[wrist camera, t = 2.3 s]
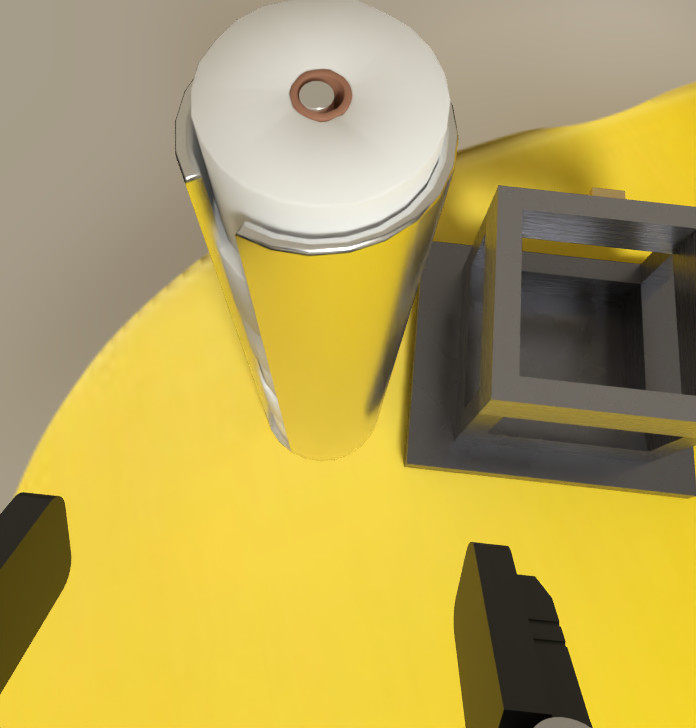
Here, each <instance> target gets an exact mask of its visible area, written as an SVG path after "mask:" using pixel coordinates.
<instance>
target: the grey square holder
mask: <svg viewBox="0 0 696 728" xmlns="http://www.w3.org/2000/svg"><path fill="white" fill-rule="evenodd" d="M522 237H523V238H532V239H541V240H550V241H559V242H568V243H577V244H586V245H595V246H604V247H613V248H623V249H632V250H641V251H650V252H652V253H651V254H650V255H649V256H648V257H647V258H646V260H645V261H644V262H643V263H642V264H634V263H625V262H616V261H607V260H598V259H589V258H580V257H570V256H561V255H552V254H543V253H534V252H525V251H522ZM695 445H696V207H691V206H682V205H673V204H664V203H654V202H645V201H636V200H627V199H625V191H621V190H611V189H602V188H593V187H592V189H591V190H590V192H589V193H588V195H582V194H573V193H563V192H554V191H545V190H536V189H527V188H518V187H509V186H500V185H498V188H497V190H496V192H495V195H494V197H493V199H492V202H491V204H490V206H489V209H488V211H487V213H486V216H485V218H484V220H483V223H482V225H481V227H480V230H479V232H478V234H477V237H476V239H475V241H474V243H473V246H471V245H462V244H452V243H443V242H434V241H432V243H431V246H430V250H429V253H428V256H427V259H426V263H425V266H424V269H423V272H422V276H421V279H420V282H419V285H418V298H417V311H416V324H415V337H414V350H413V363H412V376H411V388H410V401H409V414H408V427H407V440H406V453H405V466H404V467H410V468H419V469H428V470H437V471H446V472H455V473H464V474H473V475H482V476H491V477H500V478H509V479H518V480H527V481H536V482H545V483H554V484H563V485H572V486H580V487H589V488H598V489H607V490H616V491H625V492H634V493H643V494H652V495H661V496H670V497H679V498H691V497H695V496H696V478H695V464H694V450H693V446H695Z"/></svg>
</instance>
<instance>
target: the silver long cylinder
mask: <svg viewBox="0 0 696 728" xmlns="http://www.w3.org/2000/svg"><path fill="white" fill-rule="evenodd" d="M457 146H458V132H457V126H456V121H455V115H454V110H453V105H452V104H451V101H450V97H449V91H448V86H447V81H446V76H445V73H444V71H443V70H442V68H441V66H440V64H439V62H438V60H437V58H436V56H435V54H434V52H433V50H432V49H431V48H430V47H429V46H428V45H427V44H426V43H425V42H424V41H423V40H422V39H421V38H420V36H419V35H418V34H417V33H416V32H415V31H414V30H413V29H412V28H410V27H408V26H407V25H405V24H403V23H402V22H400V21H398V20H397V19H395V18H393V17H392V16H390V15H388V14H387V13H384V12H382V11H380V10H378V9H376V8H373V7H371V6H369V5H366V4H364V3H362V2H360V1H357V0H290V1H286V2H280V3H276V4H270V5H265V6H263V7H261V8H259V9H257V10H255V11H253V12H251V13H250V14H247V15H245V16H243V17H241V18H239V19H237V20H236V21H235V22H234V23H233V24H232V25H231V26H230V27H229V28H228V29H227V30H226V31H225V32H224V33H223V34H221V36H219V37H218V38H217V39H216V40H215V41H214V43H213V44H212V45H211V47H210V48H209V50H208V51H207V52H206V54H205V55H204V56H203V58H202V59H201V60H200V62H199V64H198V67H197V70H196V74H195V77H194V79H193V80H192V82H191V83H190V84H189V86H188V88H187V89H186V90H185V92H184V96H183V98H182V101H181V104H180V108H179V111H178V114H177V117H176V120H175V154H176V158H177V161H178V163H179V167H180V170H181V173H182V175H183V179H184V182H185V184H186V187H187V190H188V193H189V196H190V199H191V202H192V204H193V207H194V210H195V213H196V216H197V219H198V222H199V224H200V227H201V230H202V233H203V236H204V239H205V241H206V244H207V247H208V250H209V253H210V256H211V259H212V262H213V264H214V267H215V270H216V273H217V276H218V279H219V282H220V284H221V287H222V290H223V293H224V296H225V299H226V302H227V304H228V307H229V310H230V313H231V316H232V319H233V322H234V324H235V327H236V330H237V333H238V336H239V339H240V342H241V344H242V347H243V350H244V353H245V356H246V359H247V362H248V364H249V367H250V370H251V373H252V376H253V379H254V382H255V384H256V387H257V390H258V393H259V396H260V399H261V402H262V404H263V407H264V410H265V413H266V416H267V419H268V422H269V424H270V427H271V430H272V432H273V433H274V435H275V436H276V438H277V439H278V441H279V442H280V443H281V444H282V445H283V446H285V447H286V448H287V449H288V450H289V451H290V452H292V453H294V454H296V455H298V456H301V457H303V458H305V459H311V460H316V461H326V460H336V459H338V458H341V457H344V456H347V455H349V454H351V453H352V452H353V451H355V450H356V449H358V448H359V447H361V446H362V444H363V443H364V442H365V441H366V440H367V438H368V437H369V436H370V435H371V433H372V431H373V428H374V426H375V424H376V422H377V418H378V415H379V412H380V409H381V405H382V402H383V399H384V396H385V393H386V389H387V386H388V383H389V380H390V376H391V373H392V370H393V367H394V363H395V360H396V357H397V354H398V350H399V347H400V344H401V341H402V337H403V334H404V331H405V328H406V324H407V321H408V318H409V315H410V311H411V308H412V305H413V302H414V298H415V295H416V292H417V289H418V285H419V282H420V279H421V276H422V272H423V269H424V266H425V263H426V259H427V256H428V253H429V250H430V246H431V243H432V240H433V237H434V233H435V230H436V227H437V224H438V220H439V217H440V214H441V211H442V207H443V204H444V201H445V198H446V194H447V191H448V188H449V185H450V181H451V178H452V175H453V172H454V168H455V160H456V153H457Z"/></svg>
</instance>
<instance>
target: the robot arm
mask: <svg viewBox="0 0 696 728" xmlns="http://www.w3.org/2000/svg"><path fill="white" fill-rule="evenodd" d="M70 567H71V549H70V541H69V533H68V525H67V517H66V509H65V503H64V500H63V498H62V497H60V496H52V495H43V494H34V493H24V492H22V493H19V494H18V495H16V496H15V497H14V498H13V500H12V501H11V502H10V503H9V504H8V506H7V507H6V508H5V509H4V510H3V512H2V513H1V514H0V694H1V692H2V690H3V689H4V687H5V685H6V684H7V682H8V680H9V679H10V677H11V675H12V674H13V672H14V670H15V669H16V667H17V665H18V664H19V662H20V660H21V659H22V657H23V655H24V654H25V652H26V650H27V649H28V647H29V645H30V644H31V642H32V640H33V639H34V637H35V635H36V634H37V632H38V630H39V629H40V627H41V625H42V624H43V622H44V620H45V619H46V617H47V615H48V614H49V612H50V610H51V609H52V607H53V605H54V604H55V602H56V600H57V599H58V597H59V595H60V594H61V592H62V590H63V588H64V586H65V584H66V582H67V579H68V576H69V572H70ZM454 635H455V643H456V651H457V659H458V668H459V676H460V684H461V692H462V700H463V708H464V717H465V725H466V728H593V727H592V725H591V722H590V719H589V716H588V713H587V710H586V707H585V703H584V700H583V697H582V694H581V690H580V687H579V684H578V681H577V677H576V674H575V671H574V668H573V665H572V661H571V658H570V655H569V652H568V648H567V647H566V646H565V639H564V635H563V632H562V629H561V627H559V619H558V616H557V613H556V610H555V606H554V603H553V600H552V598H551V596H550V595H549V594H548V593H547V591H546V590H545V589H544V587H543V586H542V585H541V584H540V582H539V581H538V580H537V579H536V577H535V576H526V575H517V573H516V569H515V565H514V561H513V558H512V554H511V550H510V548H509V547H508V546H503V545H493V544H484V543H475V542H470V543H469V545H468V547H467V551H466V556H465V560H464V564H463V569H462V573H461V577H460V582H459V586H458V591H457V595H456V600H455V607H454Z"/></svg>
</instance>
